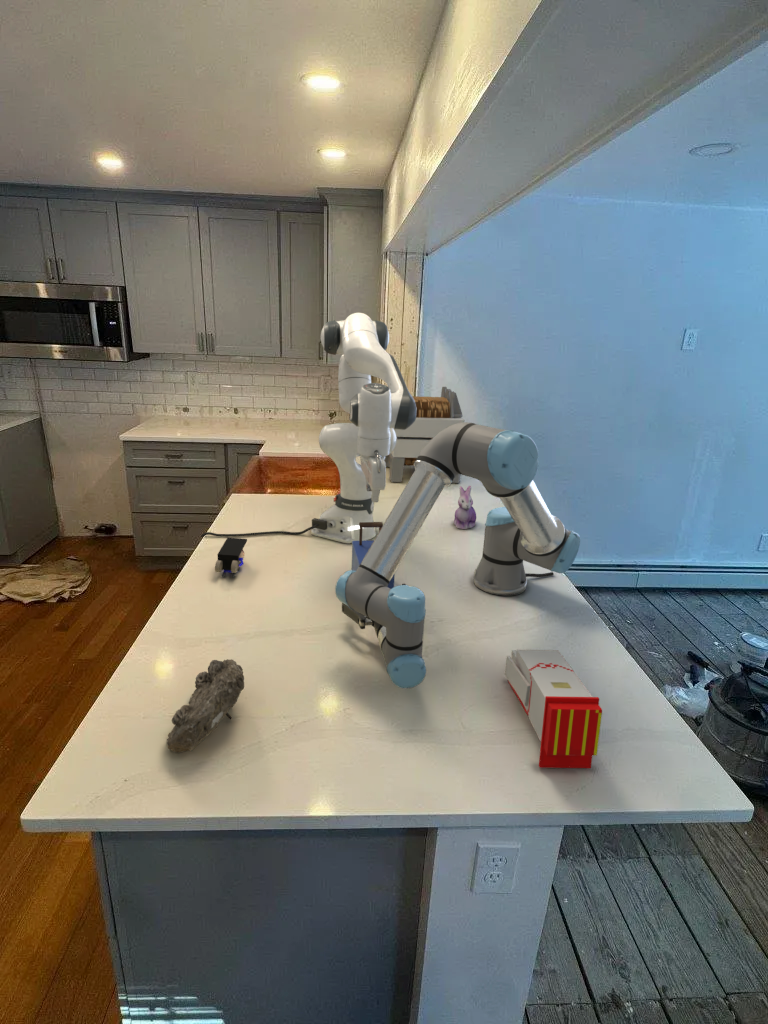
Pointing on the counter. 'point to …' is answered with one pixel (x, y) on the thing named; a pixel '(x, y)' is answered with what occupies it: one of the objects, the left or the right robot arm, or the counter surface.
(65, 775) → the counter surface
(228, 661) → the fossil
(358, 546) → the lid
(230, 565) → the figurine character
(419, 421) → the transformer
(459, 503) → the figurine
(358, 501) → the left robot arm
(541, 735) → the toy
